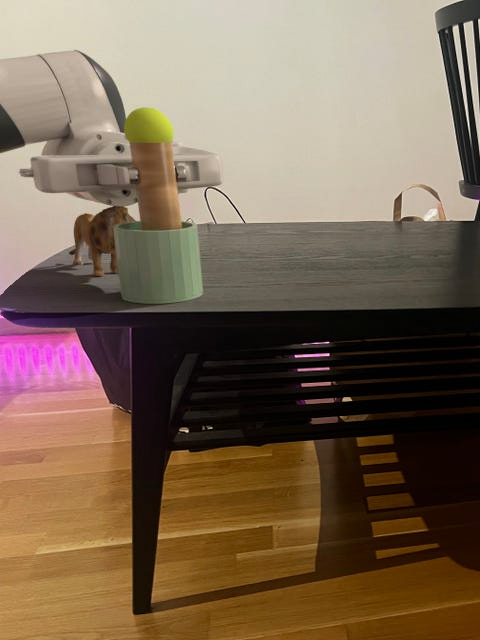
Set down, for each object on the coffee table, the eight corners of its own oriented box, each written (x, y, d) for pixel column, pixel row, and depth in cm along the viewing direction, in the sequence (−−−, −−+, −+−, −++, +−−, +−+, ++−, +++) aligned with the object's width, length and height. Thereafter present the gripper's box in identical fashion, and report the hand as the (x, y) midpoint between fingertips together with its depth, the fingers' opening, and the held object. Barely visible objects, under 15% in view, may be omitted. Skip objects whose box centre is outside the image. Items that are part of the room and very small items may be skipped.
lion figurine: (150, 277, 91) (147, 207, 88) (109, 282, 86) (105, 209, 84) (88, 256, 98) (84, 191, 95) (48, 259, 94) (42, 191, 91)
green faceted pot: (126, 307, 76) (117, 232, 73) (117, 290, 82) (108, 221, 80) (210, 299, 80) (204, 229, 77) (195, 284, 87) (189, 219, 84)
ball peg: (142, 233, 76) (123, 106, 72) (136, 228, 80) (118, 107, 75) (188, 231, 78) (174, 107, 74) (180, 225, 82) (166, 108, 78)
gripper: (8, 142, 77) (46, 145, 68) (190, 141, 91) (241, 144, 82) (20, 200, 79) (57, 211, 70) (195, 191, 93) (246, 199, 84)
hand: (158, 175), depth 76 cm, fingers closed on ball peg, 4 cm apart
